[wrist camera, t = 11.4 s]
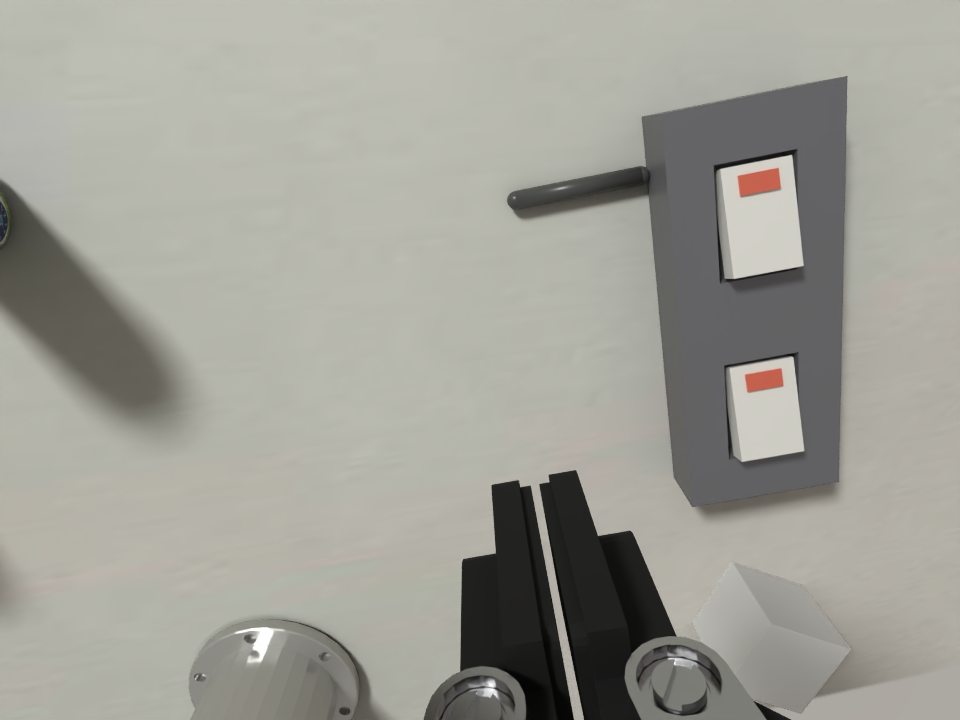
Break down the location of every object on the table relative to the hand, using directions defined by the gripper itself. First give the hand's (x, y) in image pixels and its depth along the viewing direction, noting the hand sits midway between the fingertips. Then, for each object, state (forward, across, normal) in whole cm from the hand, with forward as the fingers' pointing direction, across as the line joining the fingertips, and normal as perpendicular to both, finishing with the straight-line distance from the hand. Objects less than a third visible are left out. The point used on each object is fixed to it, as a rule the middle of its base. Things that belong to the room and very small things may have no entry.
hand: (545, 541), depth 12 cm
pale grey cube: (+25, -14, +28) cm, 40 cm away
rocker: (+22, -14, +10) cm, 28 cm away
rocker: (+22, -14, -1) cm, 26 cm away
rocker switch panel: (+25, -10, +4) cm, 27 cm away
